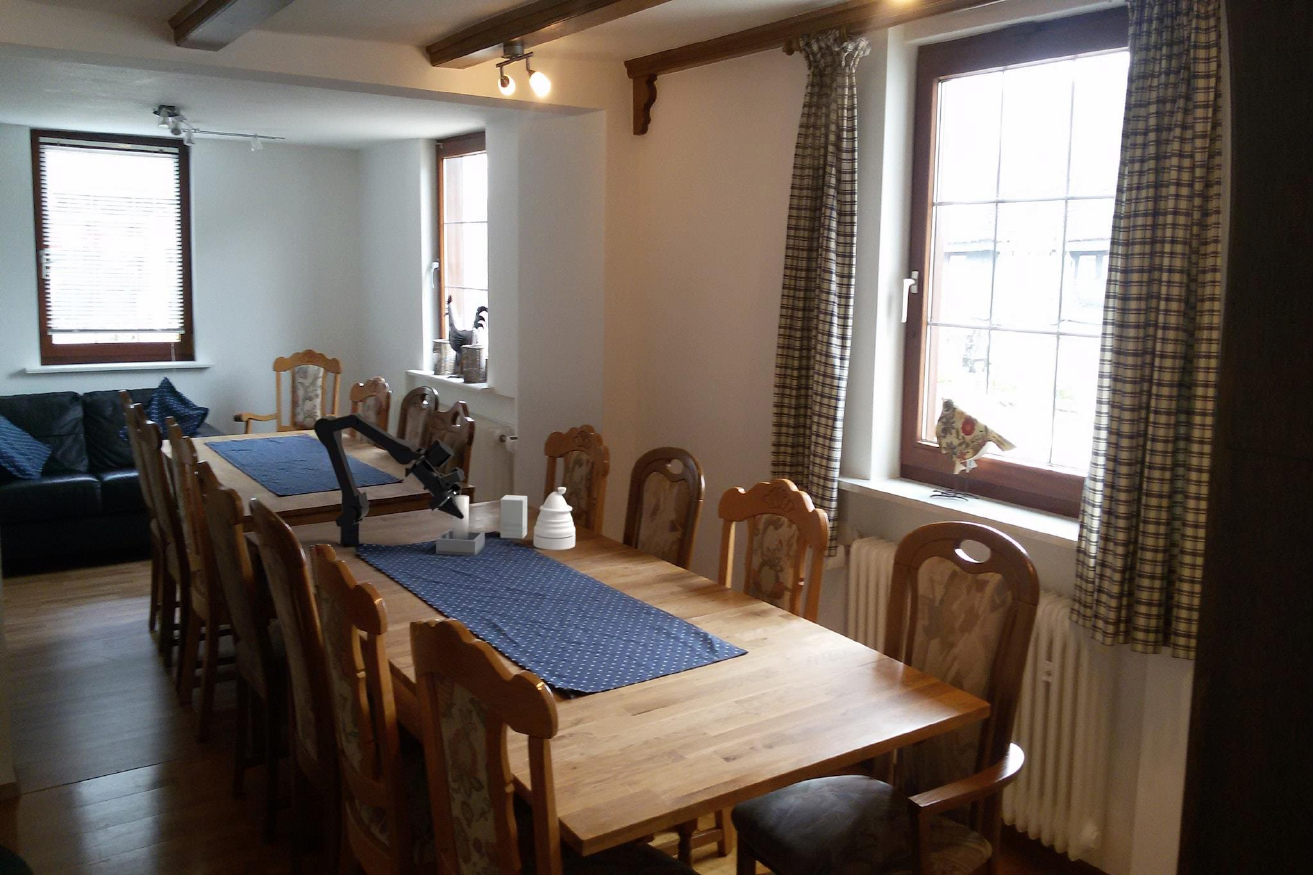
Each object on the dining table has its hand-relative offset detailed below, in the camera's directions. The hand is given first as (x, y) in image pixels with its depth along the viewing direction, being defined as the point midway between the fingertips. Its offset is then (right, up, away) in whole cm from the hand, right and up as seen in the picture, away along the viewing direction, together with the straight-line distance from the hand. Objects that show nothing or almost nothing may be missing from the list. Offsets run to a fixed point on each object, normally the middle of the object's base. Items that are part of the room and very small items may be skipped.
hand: (465, 516), depth 313 cm
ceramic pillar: (-2, -6, +1) cm, 7 cm away
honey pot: (+25, -10, +13) cm, 30 cm away
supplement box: (+11, -8, +22) cm, 26 cm away
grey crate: (-2, -10, +2) cm, 10 cm away
